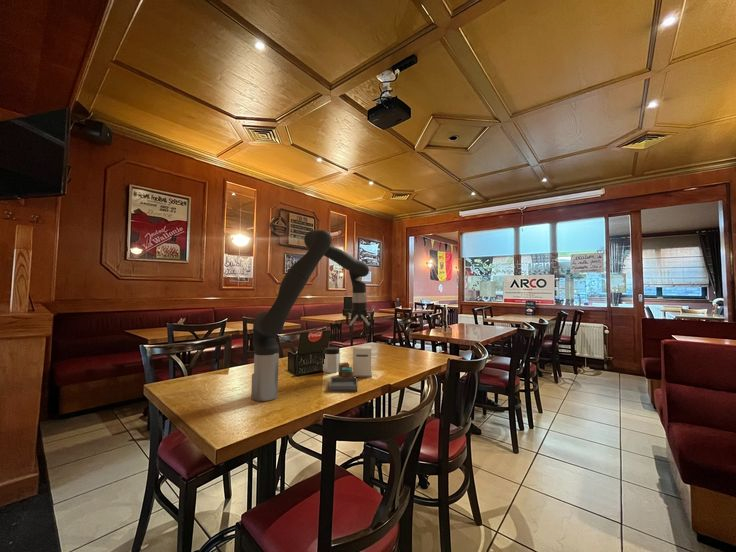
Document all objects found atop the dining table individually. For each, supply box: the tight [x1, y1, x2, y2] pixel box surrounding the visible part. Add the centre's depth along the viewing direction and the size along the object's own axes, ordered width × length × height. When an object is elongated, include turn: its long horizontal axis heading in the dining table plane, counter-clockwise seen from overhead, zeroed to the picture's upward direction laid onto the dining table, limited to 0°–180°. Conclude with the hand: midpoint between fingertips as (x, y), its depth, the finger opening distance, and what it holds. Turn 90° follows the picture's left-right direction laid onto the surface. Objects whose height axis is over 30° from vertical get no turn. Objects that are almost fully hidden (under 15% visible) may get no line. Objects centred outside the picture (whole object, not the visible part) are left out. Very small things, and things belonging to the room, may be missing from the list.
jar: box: [322, 346, 341, 374], centre depth 159 cm, size 9×8×12 cm
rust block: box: [338, 362, 350, 378], centre depth 150 cm, size 4×4×6 cm
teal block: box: [341, 366, 353, 378], centre depth 141 cm, size 4×4×6 cm
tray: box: [328, 377, 359, 393], centre depth 132 cm, size 12×12×2 cm
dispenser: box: [352, 345, 373, 379], centre depth 151 cm, size 10×8×14 cm
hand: (359, 332), depth 157 cm, fingers open, 8 cm apart
